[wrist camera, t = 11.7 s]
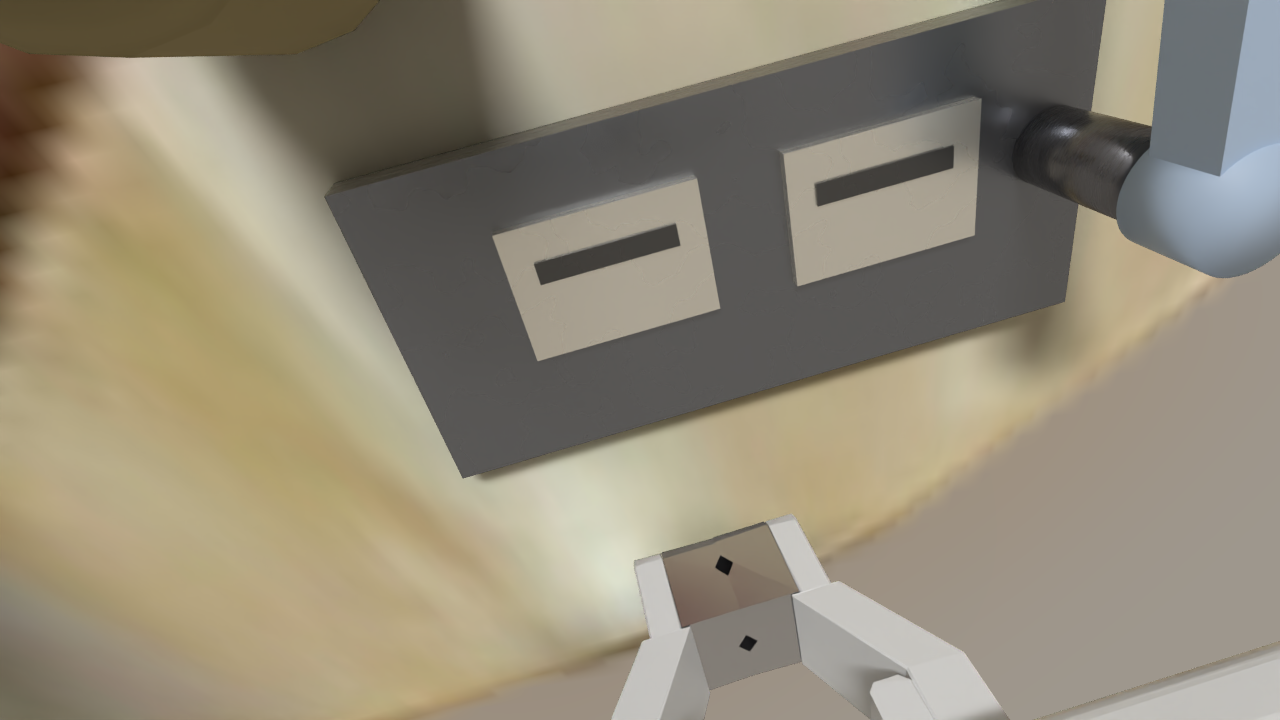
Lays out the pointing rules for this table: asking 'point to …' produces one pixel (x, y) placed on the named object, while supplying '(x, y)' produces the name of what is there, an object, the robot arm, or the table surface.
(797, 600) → the robot arm
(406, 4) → the table surface
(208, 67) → the table surface
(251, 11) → the squeeze bottle
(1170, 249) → the swing arm
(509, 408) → the switch panel
